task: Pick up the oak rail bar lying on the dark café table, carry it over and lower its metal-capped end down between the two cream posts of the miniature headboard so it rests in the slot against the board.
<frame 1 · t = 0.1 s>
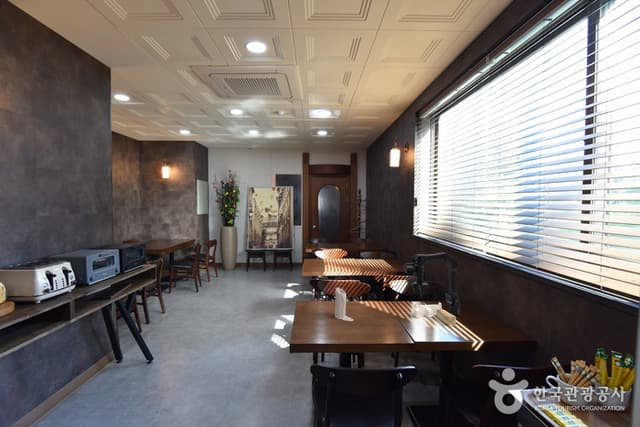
hand: (418, 295, 221), 15 cm above the table, fingers open, 9 cm apart
rail: (446, 321, 212), on the table
headboard: (427, 315, 224), on the table
white tall piece: (344, 318, 214), on the table
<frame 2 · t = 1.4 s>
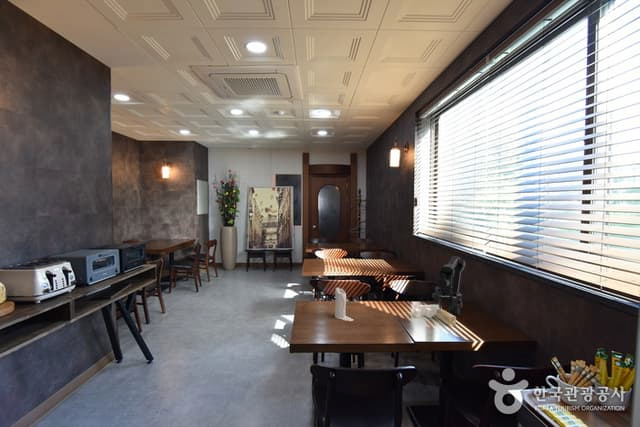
hand: (446, 308, 212), 9 cm above the table, fingers open, 9 cm apart
nothing on the table moved.
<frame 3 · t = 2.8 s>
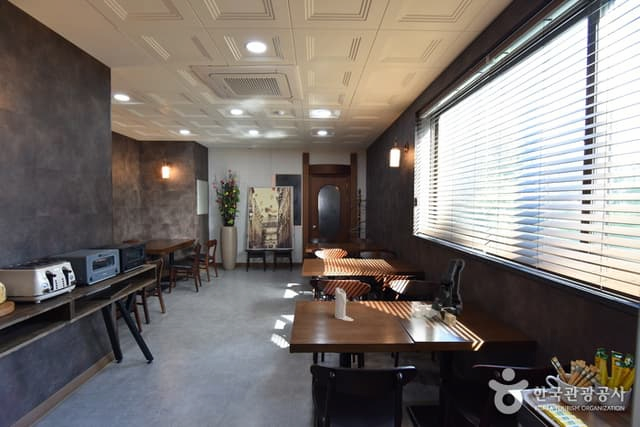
hand: (446, 319, 212), 1 cm above the table, fingers closed on rail, 4 cm apart
rail: (446, 321, 212), on the table, touching gripper
everything else where it was.
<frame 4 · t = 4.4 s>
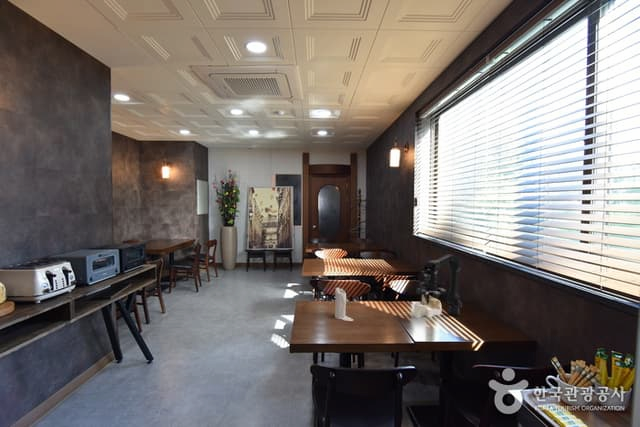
hand: (430, 303, 213), 11 cm above the table, fingers closed on rail, 4 cm apart
rail: (430, 305, 213), point 10 cm above the table, touching gripper
everything else where it was.
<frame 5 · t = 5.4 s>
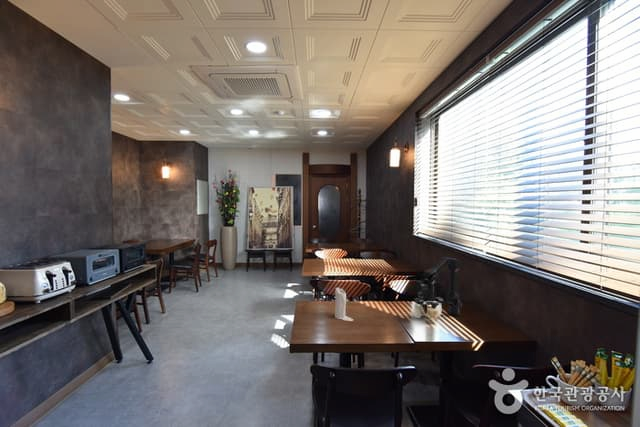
hand: (428, 313, 213), 5 cm above the table, fingers closed on rail, 4 cm apart
rail: (428, 315, 213), point 3 cm above the table, touching gripper
everything else where it was.
when the fingers open (2 cm above the table, at t = 6.2 s): rail stays where it is, on the table.
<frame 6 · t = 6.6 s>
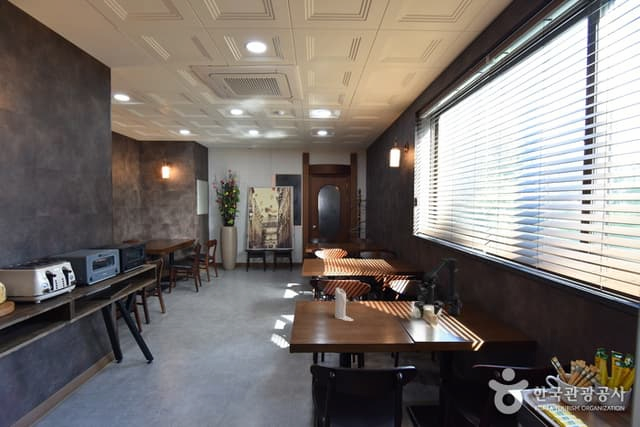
hand: (428, 317, 213), 2 cm above the table, fingers open, 9 cm apart
rail: (428, 320, 213), on the table
everything else where it was.
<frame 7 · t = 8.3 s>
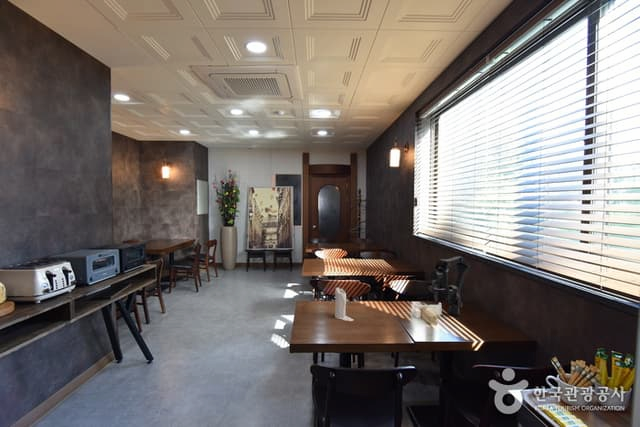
hand: (442, 301, 218), 12 cm above the table, fingers open, 9 cm apart
nothing on the table moved.
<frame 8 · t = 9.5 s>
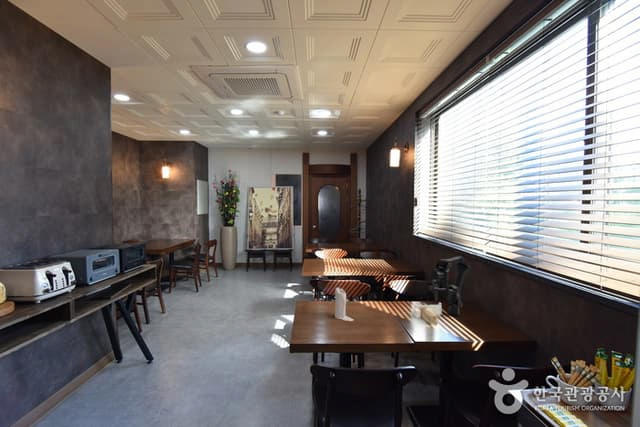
hand: (442, 300, 218), 12 cm above the table, fingers open, 9 cm apart
nothing on the table moved.
at the end: rail 0.2 cm from the target spot, on the table; rail tilted 0°; the gripper is holding nothing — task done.
